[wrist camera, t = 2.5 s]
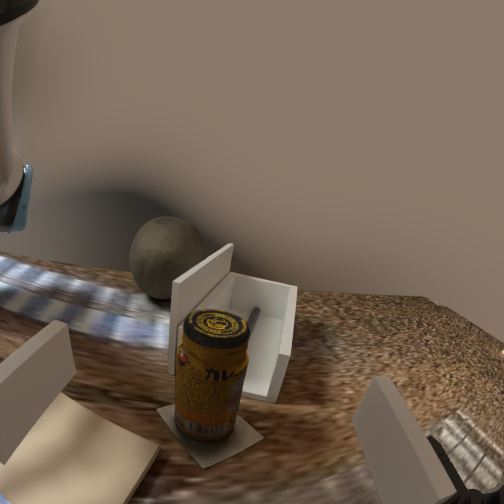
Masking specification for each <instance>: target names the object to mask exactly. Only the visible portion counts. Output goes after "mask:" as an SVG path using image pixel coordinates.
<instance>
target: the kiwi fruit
mask: <svg viewBox="0 0 504 504" xmlns="http://www.w3.org/2000/svg"><path fill="white" fill-rule="evenodd" d="M203 260H205V246H204V242H203V239H202V236H201V234H200V232H199V231H198V229H197V228H196V227H195V226H194V225H193V224H191V223H190V222H188V221H186V220H183V219H179V218H175V217H159V218H156V219H154V220H151V221H149V222H147V223H146V224H145V225H144V226H142V228H141V229H140V230H139V231H138V233H137V235H136V237H135V239H134V241H133V244H132V246H131V250H130V267H131V272H132V275H133V278H134V280H135V282H136V284H137V286H138V287H139V288H140V289H141V290H142V291H143V292H144V293H146V294H147V295H149V296H151V297H153V298H156V299H171V296H172V283H173V281H174V280H175V279H177V278H178V277H180V276H181V275H183V274H184V273H186V272H187V271H188V270H190V269H191V268H193V267H194V266H196V265H197V264H199V263H200V262H202V261H203Z"/></svg>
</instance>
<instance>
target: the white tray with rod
mask: <svg viewBox="0 0 504 504" xmlns="http://www.w3.org/2000/svg"><path fill="white" fill-rule="evenodd" d="M232 251H233V244H230V243H229V244H228V245H226V246H224V247H223V248H221V249H220V250H218V251H217V252H215V253H214V254H212V255H211V256H209V257H208V258H206V259H205V260H203V261H202V262H200V263H199V264H197V265H196V266H194V267H193V268H191V269H190V270H188V271H187V272H186V273H184V274H183V275H181V276H180V277H178V278H177V279H175V280H174V281H173V283H172V296H171V311H170V330H169V358H168V373H169V374H171V375H175V374H176V359H177V349H178V346H179V344H180V343H181V341H182V333H183V323H184V320H185V319H186V318H187V316H188V315H189V314H191V313H193V312H194V311H195V310H196V311H198V310H202V309H218V310H223V311H227V312H230V313H233V314H235V315H237V316H239V317H241V318H242V319H243V320H244V321H245V322H247V325H248V326H249V329H250V336H249V339H248V349H247V354H248V358H249V363H248V366H247V371H246V376H245V380H244V385H243V390H242V394H241V396H244V397H248V398H253V399H257V400H261V401H266V402H270V403H276V400H277V397H278V394H279V391H280V388H281V385H282V382H283V379H284V375H285V372H286V369H287V366H288V362H289V359H290V355H291V346H292V337H293V328H294V318H295V308H296V297H297V287H296V286H292V285H287V284H283V283H278V282H273V281H269V280H264V279H260V278H255V277H250V276H246V275H242V274H237V273H233V272H230V273H229V270H230V262H231V257H232Z"/></svg>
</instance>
